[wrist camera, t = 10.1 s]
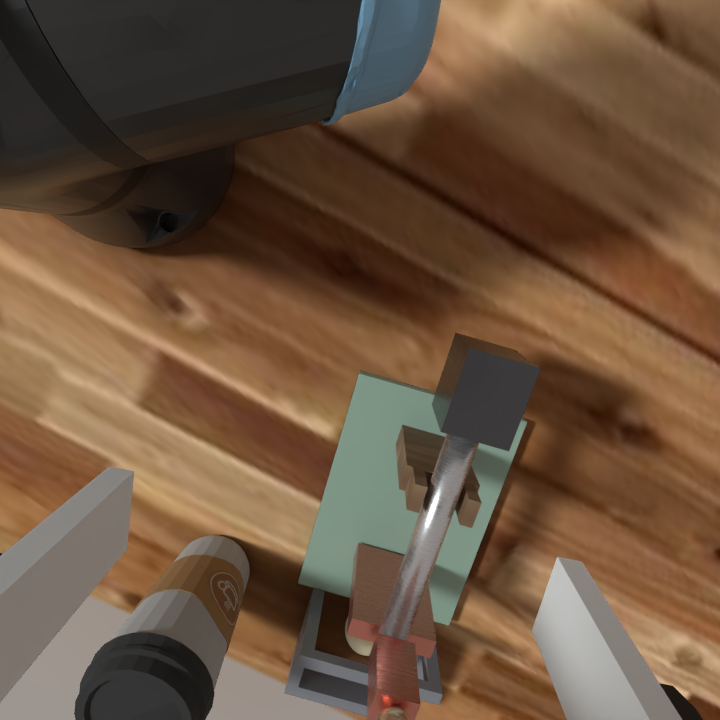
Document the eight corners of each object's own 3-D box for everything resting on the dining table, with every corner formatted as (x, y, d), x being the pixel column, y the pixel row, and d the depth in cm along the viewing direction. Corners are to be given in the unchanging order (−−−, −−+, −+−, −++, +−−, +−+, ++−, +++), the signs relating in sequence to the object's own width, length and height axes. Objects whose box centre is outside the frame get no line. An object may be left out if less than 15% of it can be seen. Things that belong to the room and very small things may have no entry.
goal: (315, 580, 43) (300, 655, 35) (431, 612, 44) (442, 694, 35) (292, 655, 45) (273, 742, 37) (404, 686, 45) (409, 779, 37)
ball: (338, 660, 40) (341, 626, 44) (383, 672, 40) (382, 638, 44) (350, 618, 40) (352, 588, 44) (397, 631, 40) (395, 600, 44)
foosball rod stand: (430, 316, 36) (468, 363, 21) (505, 337, 37) (601, 401, 21) (352, 560, 41) (334, 751, 25) (419, 579, 41) (442, 781, 26)
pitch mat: (359, 370, 39) (359, 373, 38) (523, 417, 39) (527, 421, 38) (299, 576, 43) (297, 583, 42) (447, 617, 44) (448, 625, 43)
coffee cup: (278, 584, 44) (226, 750, 29) (200, 615, 45) (111, 790, 30) (234, 508, 42) (156, 642, 28) (155, 542, 43) (39, 689, 29)
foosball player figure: (401, 420, 40) (408, 482, 29) (459, 436, 40) (487, 504, 29) (395, 439, 40) (400, 508, 29) (452, 456, 40) (478, 530, 29)
